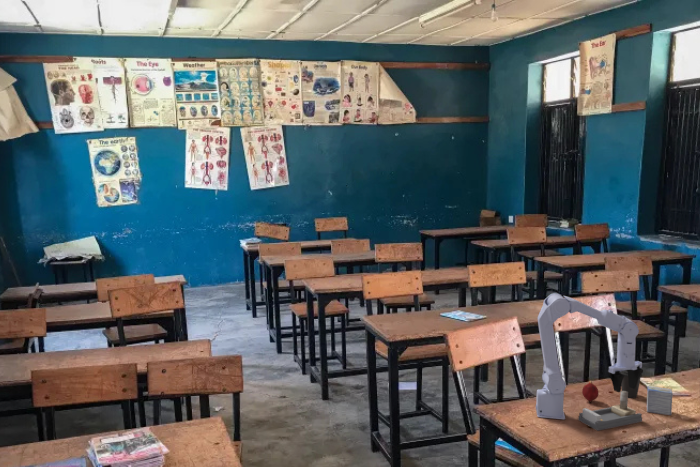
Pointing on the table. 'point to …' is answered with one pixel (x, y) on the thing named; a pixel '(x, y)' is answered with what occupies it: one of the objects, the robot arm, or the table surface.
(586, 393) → the onion
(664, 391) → the medicine box
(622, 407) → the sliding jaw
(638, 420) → the rail base
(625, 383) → the coffee cup
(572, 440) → the table surface
